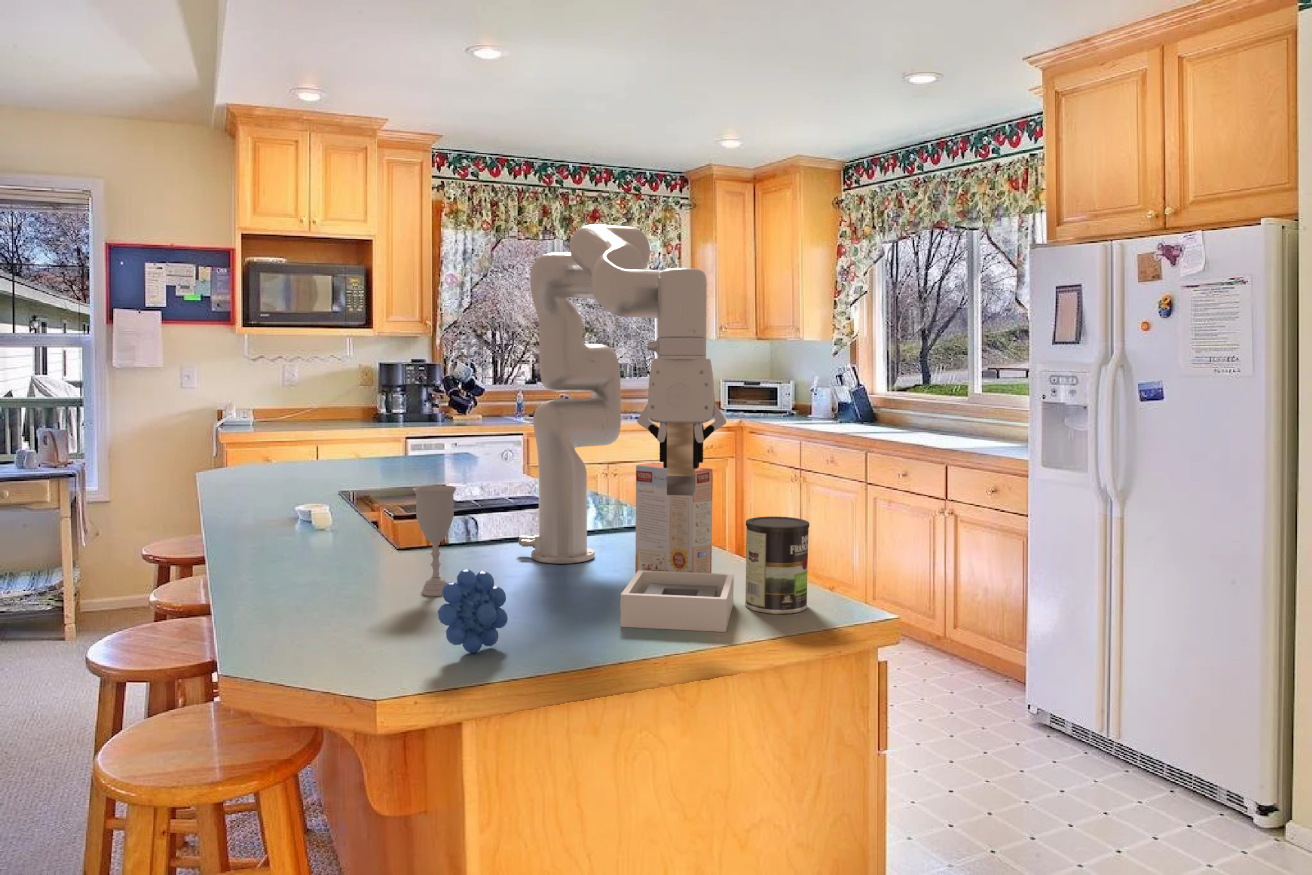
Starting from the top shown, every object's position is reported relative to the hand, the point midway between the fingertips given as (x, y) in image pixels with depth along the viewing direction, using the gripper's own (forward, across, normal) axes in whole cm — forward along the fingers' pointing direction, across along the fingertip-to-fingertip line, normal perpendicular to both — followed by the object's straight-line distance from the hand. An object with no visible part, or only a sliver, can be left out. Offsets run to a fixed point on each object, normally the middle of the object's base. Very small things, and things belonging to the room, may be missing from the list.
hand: (681, 466), depth 153 cm
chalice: (+24, -43, +7) cm, 50 cm away
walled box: (+24, 0, 0) cm, 24 cm away
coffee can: (+24, +15, +8) cm, 29 cm away
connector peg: (+4, 0, 0) cm, 4 cm away
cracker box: (+24, -4, +23) cm, 34 cm away
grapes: (+24, -25, -24) cm, 42 cm away
